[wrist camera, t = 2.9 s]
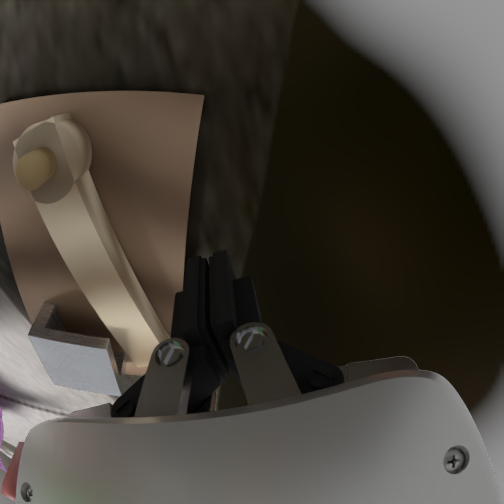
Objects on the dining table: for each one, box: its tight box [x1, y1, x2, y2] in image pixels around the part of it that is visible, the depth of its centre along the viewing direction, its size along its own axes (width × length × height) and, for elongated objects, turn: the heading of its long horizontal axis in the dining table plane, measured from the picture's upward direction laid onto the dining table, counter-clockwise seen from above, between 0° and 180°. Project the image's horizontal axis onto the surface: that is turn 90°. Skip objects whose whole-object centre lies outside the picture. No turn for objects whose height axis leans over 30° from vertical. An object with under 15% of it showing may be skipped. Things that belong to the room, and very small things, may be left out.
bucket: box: [1, 442, 25, 501], centre depth 32 cm, size 24×22×25 cm
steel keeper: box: [28, 302, 127, 396], centre depth 18 cm, size 6×6×4 cm
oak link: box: [13, 112, 170, 367], centre depth 15 cm, size 18×4×3 cm, turn 11°
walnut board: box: [0, 91, 205, 376], centre depth 17 cm, size 24×14×1 cm, turn 169°
